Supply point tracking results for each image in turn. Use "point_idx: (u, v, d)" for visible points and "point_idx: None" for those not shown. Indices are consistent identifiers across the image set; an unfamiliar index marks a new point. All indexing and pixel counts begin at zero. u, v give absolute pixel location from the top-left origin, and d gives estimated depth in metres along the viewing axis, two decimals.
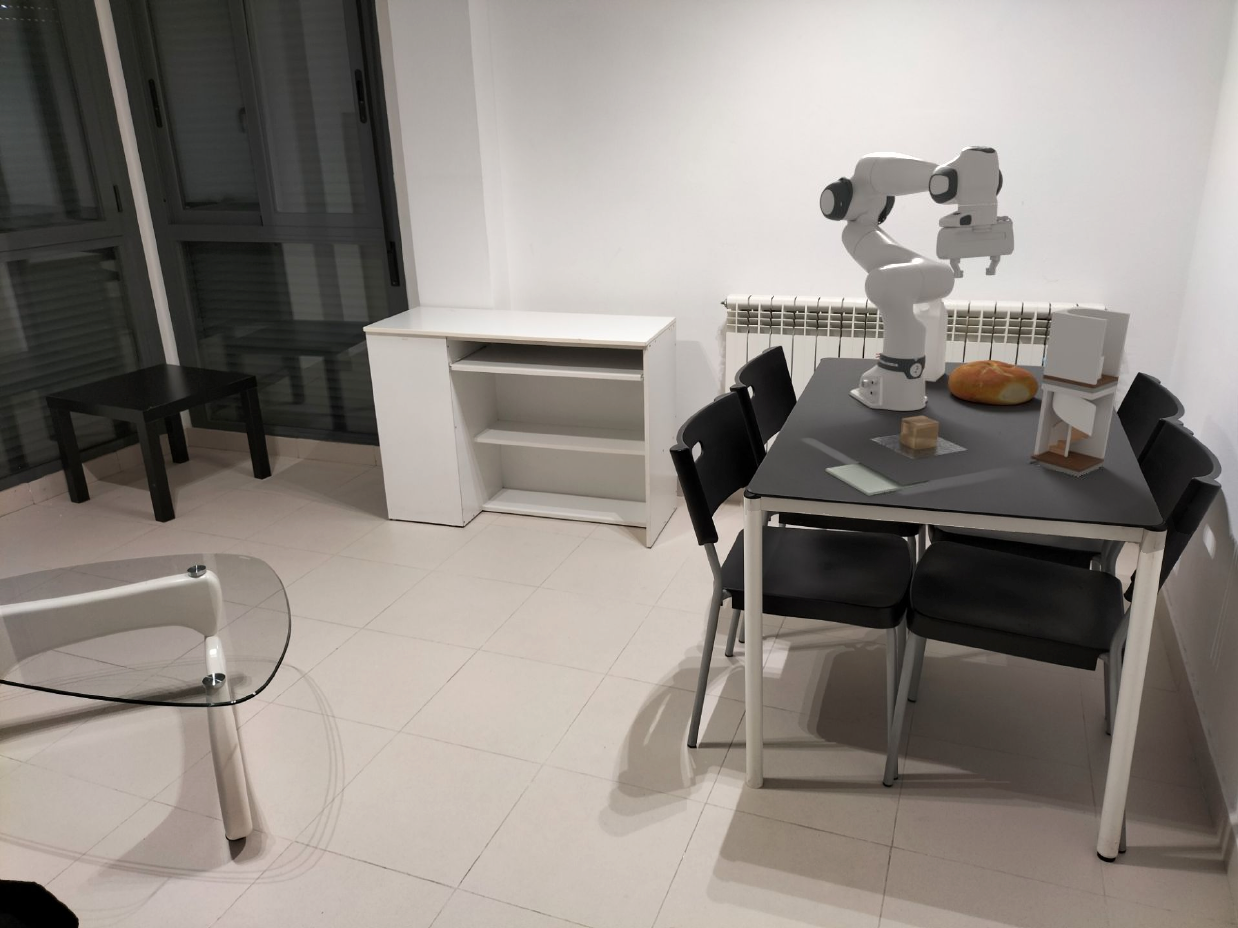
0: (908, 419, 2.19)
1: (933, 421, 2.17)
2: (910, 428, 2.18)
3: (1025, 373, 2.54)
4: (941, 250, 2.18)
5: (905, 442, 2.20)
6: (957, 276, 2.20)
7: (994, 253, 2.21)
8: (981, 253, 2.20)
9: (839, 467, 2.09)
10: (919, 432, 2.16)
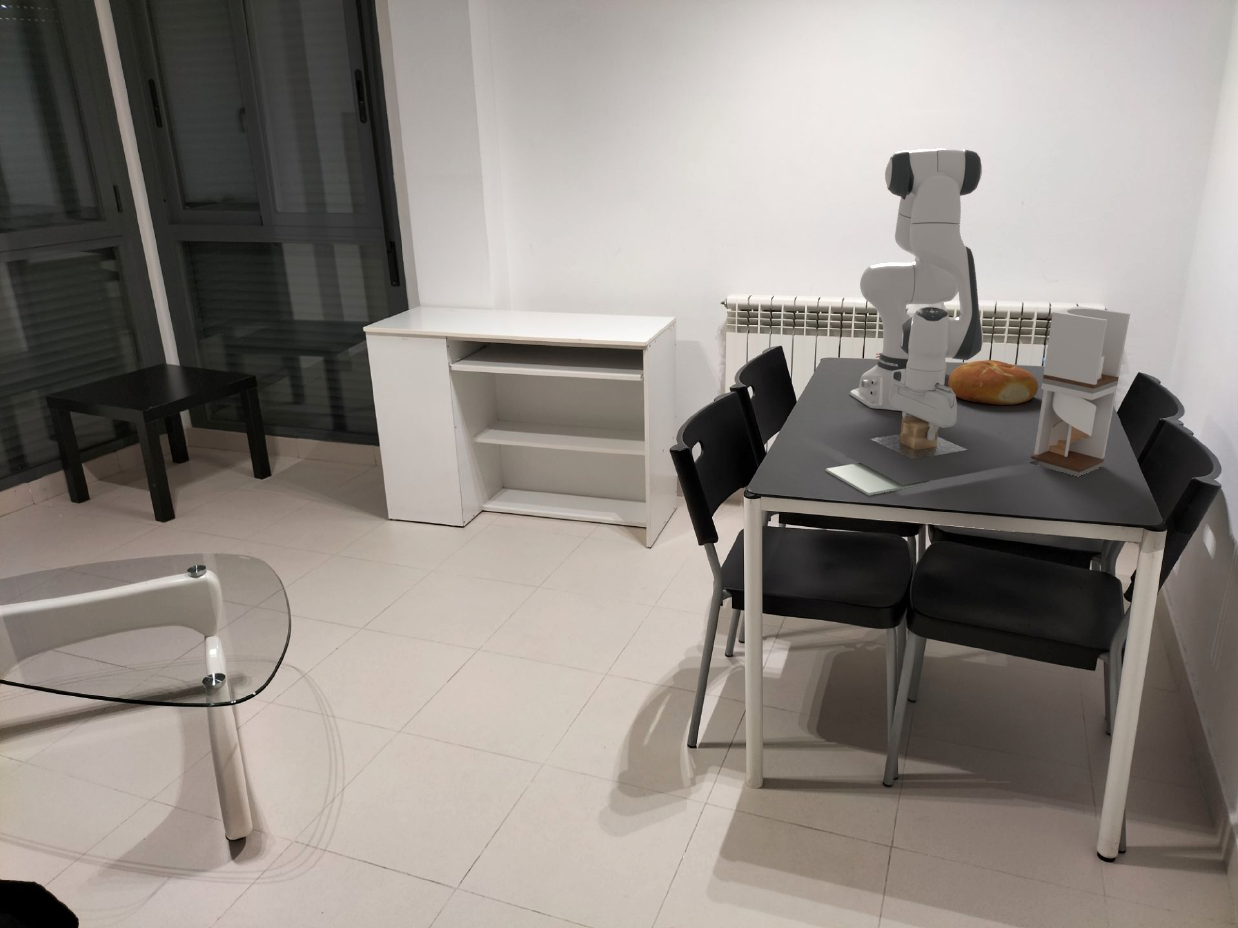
0: (908, 419, 2.19)
1: None
2: (910, 428, 2.18)
3: (1025, 373, 2.54)
4: None
5: (905, 442, 2.20)
6: None
7: (926, 419, 2.14)
8: (916, 413, 2.17)
9: (839, 467, 2.09)
10: (919, 432, 2.16)
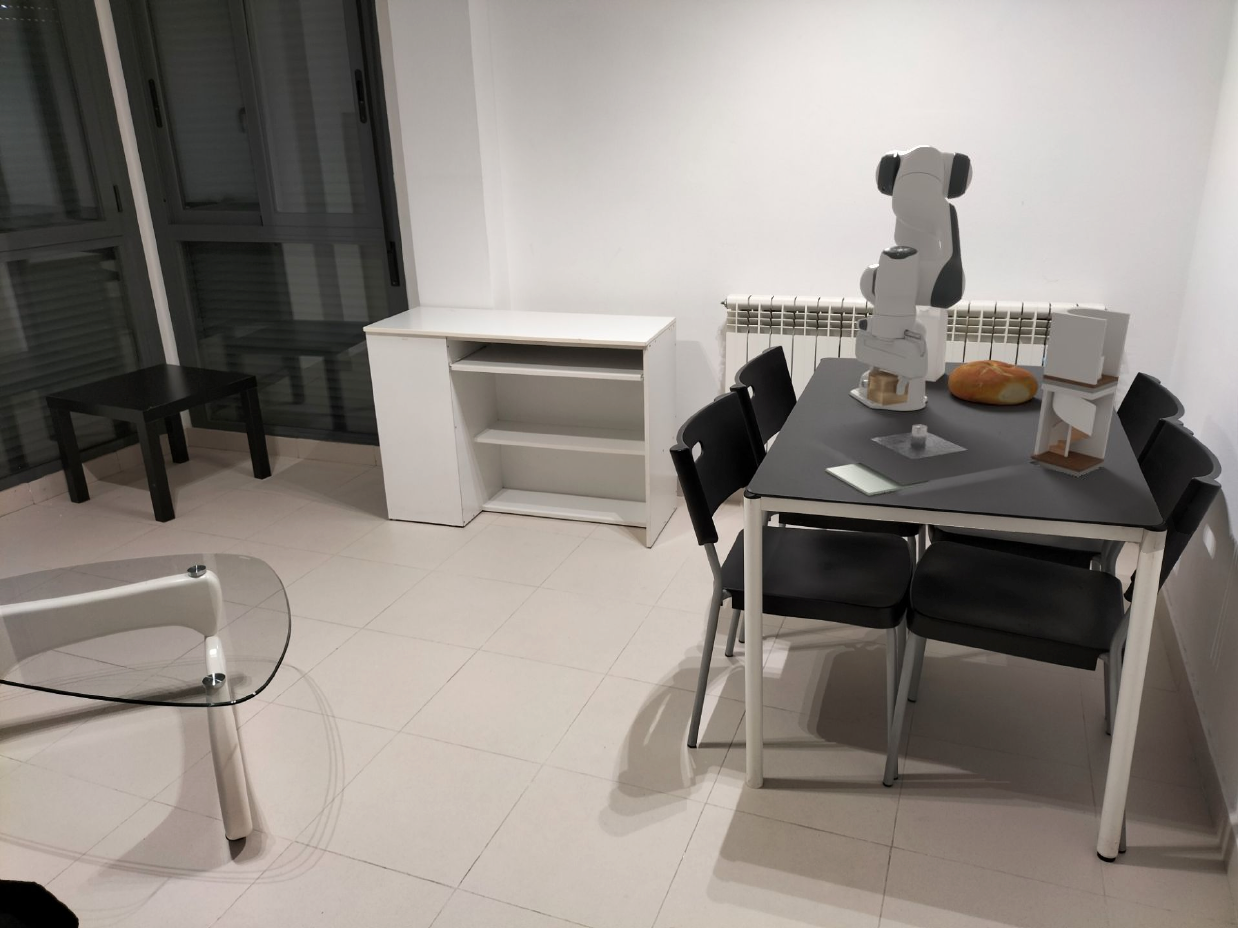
0: (875, 372, 1.98)
1: None
2: (877, 382, 1.96)
3: (1025, 373, 2.54)
4: None
5: (872, 398, 1.99)
6: None
7: (895, 371, 1.92)
8: (883, 366, 1.96)
9: (839, 467, 2.09)
10: (887, 386, 1.94)
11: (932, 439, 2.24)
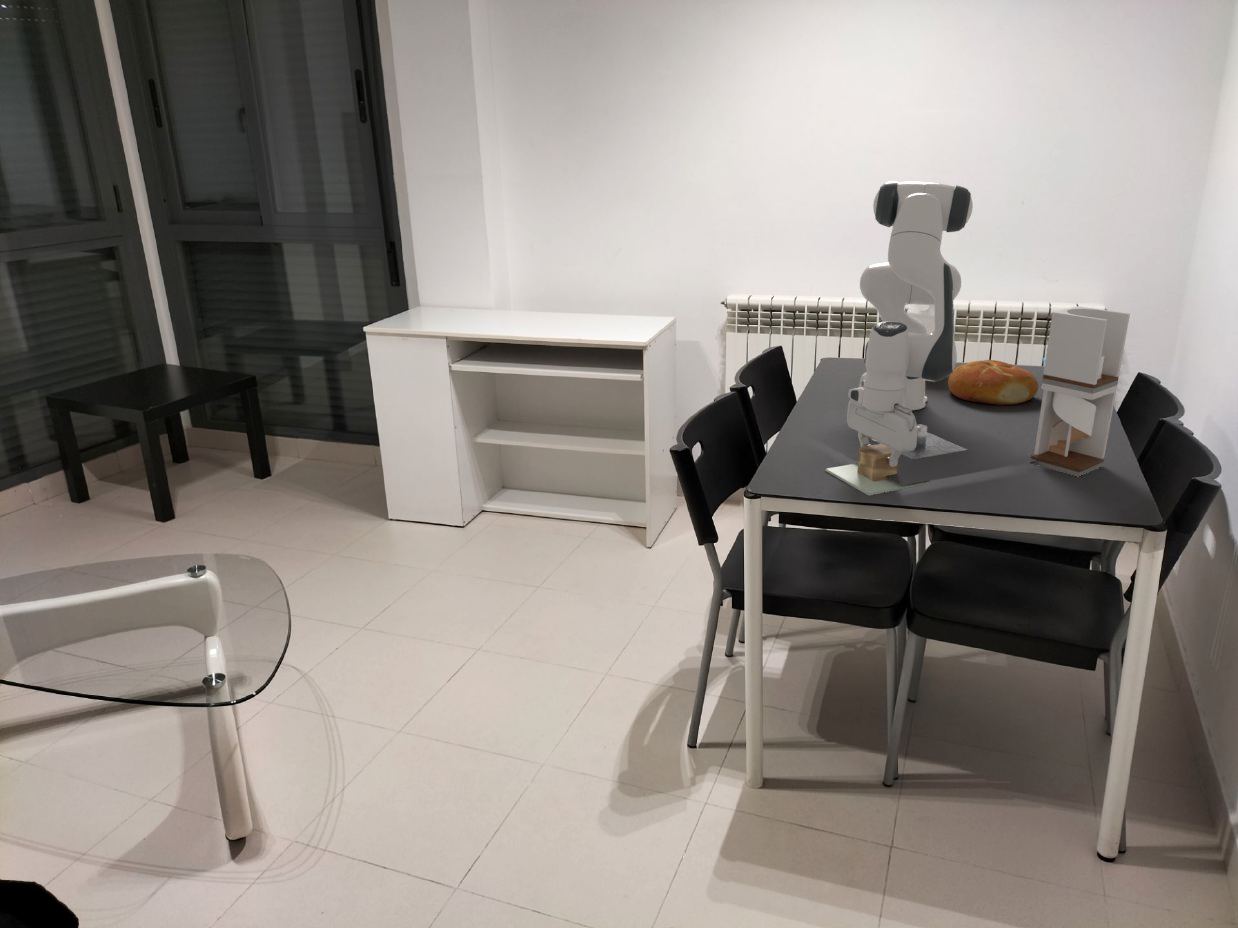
0: (866, 448, 2.03)
1: None
2: (868, 458, 2.02)
3: (1025, 373, 2.54)
4: None
5: (863, 473, 2.04)
6: None
7: (885, 442, 1.97)
8: (874, 436, 2.00)
9: (839, 467, 2.09)
10: (877, 463, 2.00)
11: (932, 439, 2.24)
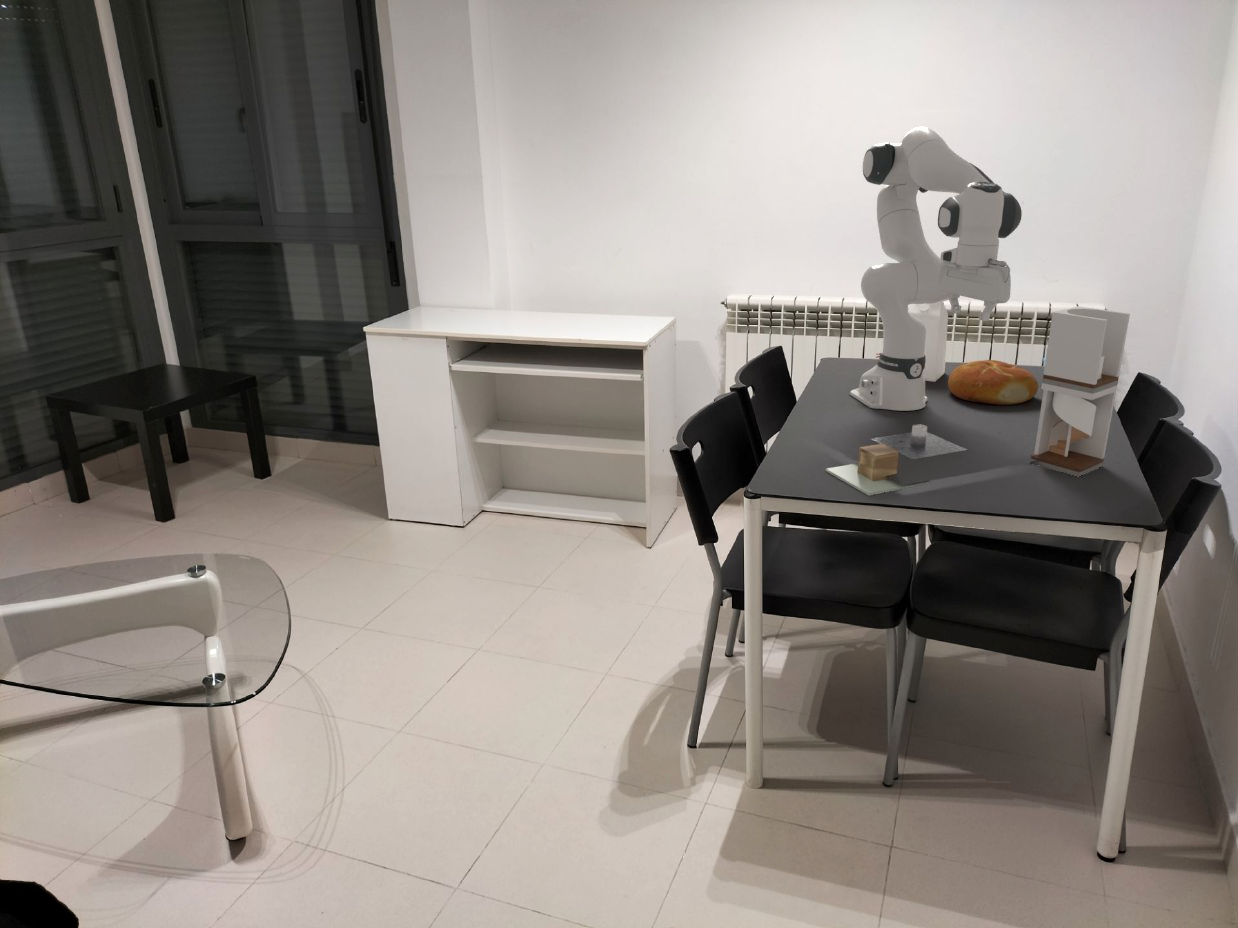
0: (866, 448, 2.03)
1: (892, 451, 2.01)
2: (868, 458, 2.02)
3: (1025, 373, 2.54)
4: None
5: (863, 473, 2.04)
6: None
7: (978, 297, 2.09)
8: (966, 293, 2.13)
9: (839, 467, 2.09)
10: (877, 463, 2.00)
11: (932, 439, 2.24)
